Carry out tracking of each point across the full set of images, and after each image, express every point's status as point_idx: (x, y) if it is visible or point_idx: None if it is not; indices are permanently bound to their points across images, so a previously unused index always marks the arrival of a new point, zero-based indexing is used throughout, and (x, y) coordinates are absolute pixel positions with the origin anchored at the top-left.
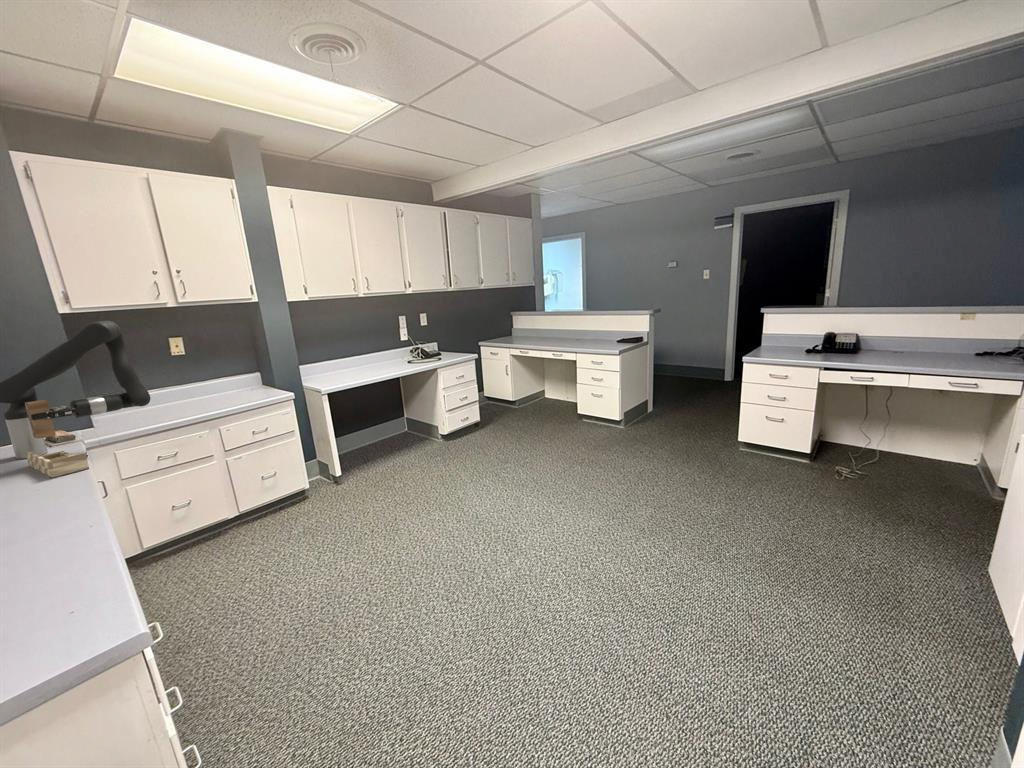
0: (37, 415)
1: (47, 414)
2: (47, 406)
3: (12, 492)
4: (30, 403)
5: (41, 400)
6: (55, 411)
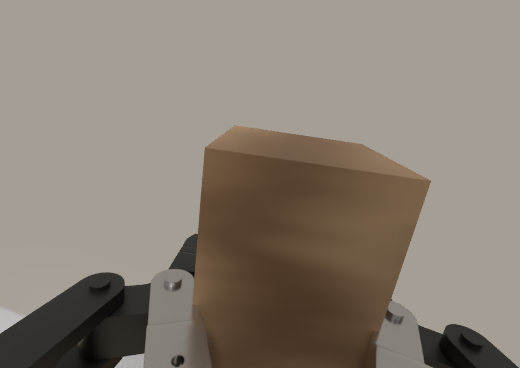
0: (183, 245)
1: (149, 291)
2: (201, 229)
3: (9, 319)
4: (234, 127)
5: (385, 168)
6: (56, 310)
